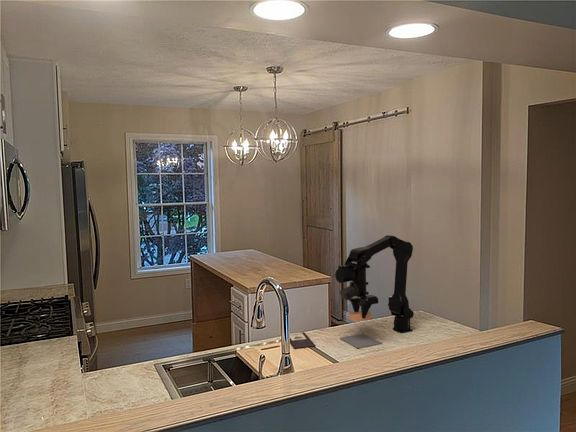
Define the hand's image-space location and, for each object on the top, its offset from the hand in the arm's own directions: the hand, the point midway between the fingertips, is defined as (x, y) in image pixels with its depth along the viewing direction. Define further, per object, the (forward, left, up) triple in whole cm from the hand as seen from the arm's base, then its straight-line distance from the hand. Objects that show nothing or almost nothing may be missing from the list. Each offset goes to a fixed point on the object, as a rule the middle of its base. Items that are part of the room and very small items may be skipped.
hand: (360, 316), depth 187 cm
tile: (0, 0, -1) cm, 1 cm away
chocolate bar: (+22, -13, -11) cm, 28 cm away
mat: (0, 0, -10) cm, 10 cm away
